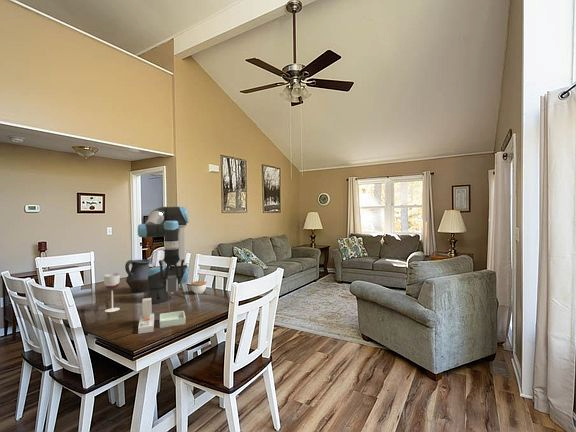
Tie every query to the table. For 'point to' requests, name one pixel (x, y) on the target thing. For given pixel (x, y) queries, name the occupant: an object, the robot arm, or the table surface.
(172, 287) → the black charger
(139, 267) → the pitcher
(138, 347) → the table surface
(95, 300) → the table surface
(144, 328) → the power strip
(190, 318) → the table surface
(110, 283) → the wineglass
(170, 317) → the tray
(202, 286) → the white round bowl
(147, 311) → the white charger
